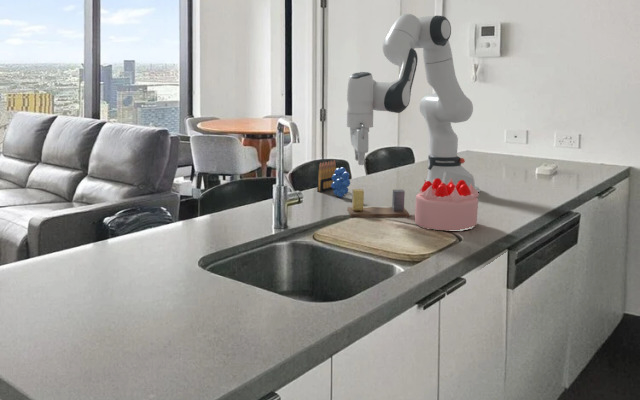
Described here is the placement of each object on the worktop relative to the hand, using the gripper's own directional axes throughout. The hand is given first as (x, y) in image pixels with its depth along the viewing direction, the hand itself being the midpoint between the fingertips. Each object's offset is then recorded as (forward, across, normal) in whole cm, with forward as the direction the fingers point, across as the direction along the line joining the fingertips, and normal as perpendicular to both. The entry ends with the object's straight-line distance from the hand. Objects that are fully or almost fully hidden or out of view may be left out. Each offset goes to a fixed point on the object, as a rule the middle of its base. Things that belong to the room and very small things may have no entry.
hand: (359, 162), depth 220 cm
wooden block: (+16, 0, 0) cm, 16 cm away
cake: (+18, -16, -27) cm, 36 cm away
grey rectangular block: (+18, 0, -14) cm, 22 cm away
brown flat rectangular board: (+18, 0, -7) cm, 19 cm away
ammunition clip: (+18, +41, +8) cm, 45 cm away
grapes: (+18, +27, +3) cm, 33 cm away
